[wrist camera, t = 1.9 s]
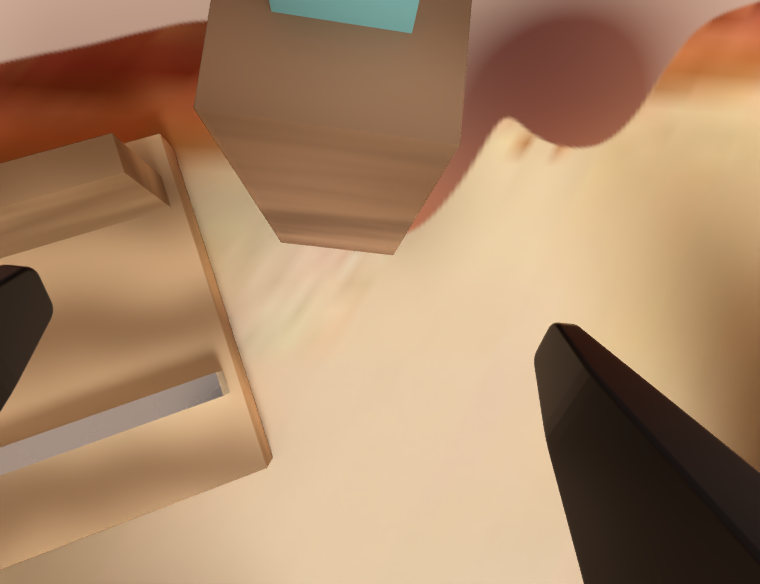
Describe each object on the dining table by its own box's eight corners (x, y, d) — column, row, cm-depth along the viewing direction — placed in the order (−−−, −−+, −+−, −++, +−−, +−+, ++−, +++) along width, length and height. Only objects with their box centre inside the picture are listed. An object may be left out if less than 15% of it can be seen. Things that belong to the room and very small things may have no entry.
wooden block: (392, 255, 21) (478, 114, 8) (281, 242, 20) (169, 70, 7) (403, 149, 21) (497, -146, 8) (294, 135, 21) (214, -201, 8)
